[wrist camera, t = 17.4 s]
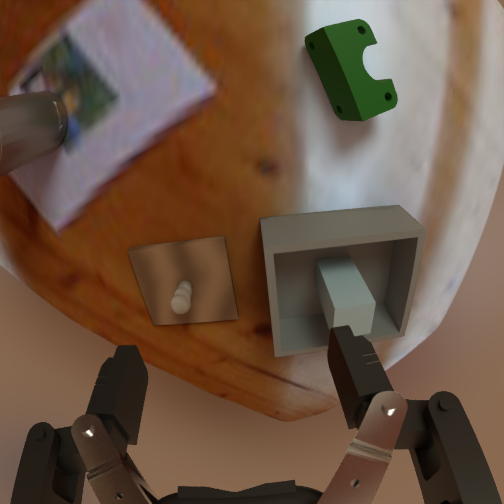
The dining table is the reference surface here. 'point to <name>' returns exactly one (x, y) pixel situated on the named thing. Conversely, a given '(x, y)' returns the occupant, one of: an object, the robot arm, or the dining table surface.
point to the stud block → (186, 281)
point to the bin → (334, 245)
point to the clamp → (349, 71)
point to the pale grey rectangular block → (344, 294)
